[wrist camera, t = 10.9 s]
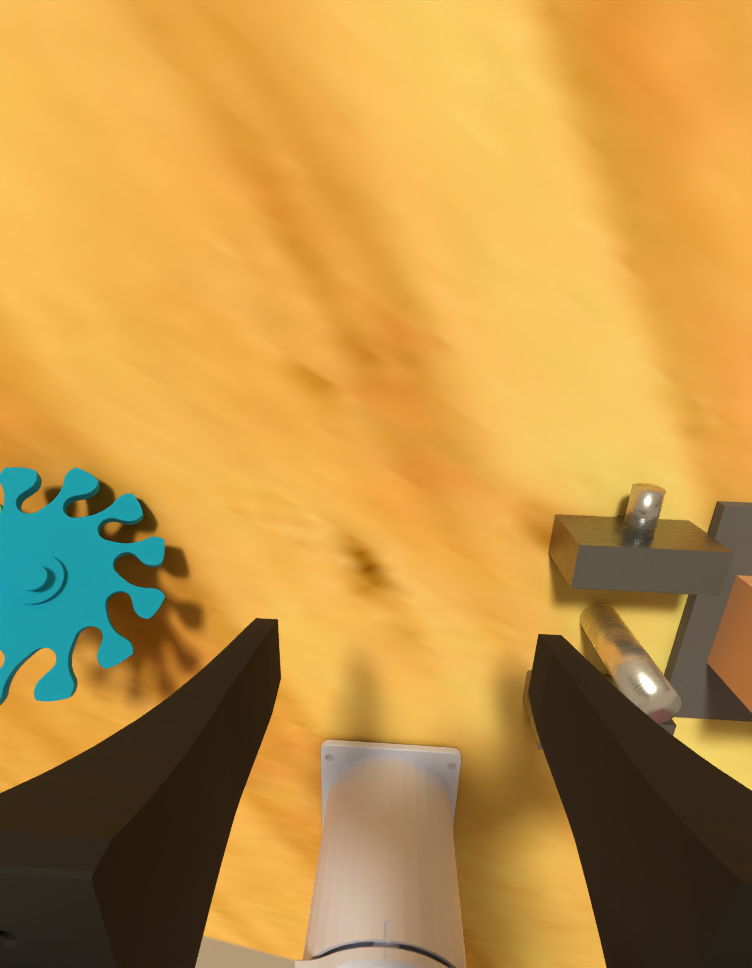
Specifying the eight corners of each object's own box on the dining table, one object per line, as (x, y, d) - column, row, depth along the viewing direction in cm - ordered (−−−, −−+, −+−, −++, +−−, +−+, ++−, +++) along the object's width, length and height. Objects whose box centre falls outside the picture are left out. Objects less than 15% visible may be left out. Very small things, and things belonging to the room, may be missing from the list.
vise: (635, 707, 24) (697, 810, 19) (522, 699, 25) (554, 800, 20) (701, 479, 20) (804, 535, 15) (562, 473, 20) (618, 526, 15)
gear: (217, 574, 21) (0, 777, 16) (207, 585, 26) (41, 743, 21) (39, 399, 20) (-245, 558, 15) (66, 447, 25) (-141, 577, 21)
